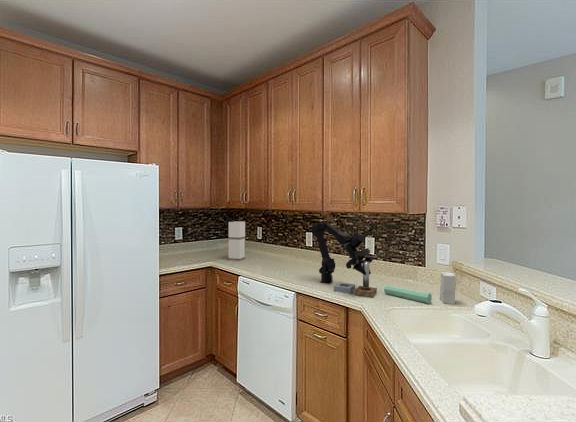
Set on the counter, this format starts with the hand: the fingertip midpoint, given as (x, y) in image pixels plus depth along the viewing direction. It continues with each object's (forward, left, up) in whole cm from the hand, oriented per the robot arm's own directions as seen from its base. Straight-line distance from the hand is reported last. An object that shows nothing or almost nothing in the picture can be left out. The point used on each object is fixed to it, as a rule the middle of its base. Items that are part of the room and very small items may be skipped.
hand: (368, 274), depth 168 cm
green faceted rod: (+20, +5, -12) cm, 24 cm away
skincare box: (+40, +9, -12) cm, 42 cm away
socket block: (-14, +3, -12) cm, 19 cm away
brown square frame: (-1, +1, -12) cm, 12 cm away
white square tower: (-131, +51, -12) cm, 141 cm away
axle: (-1, +1, -7) cm, 7 cm away
